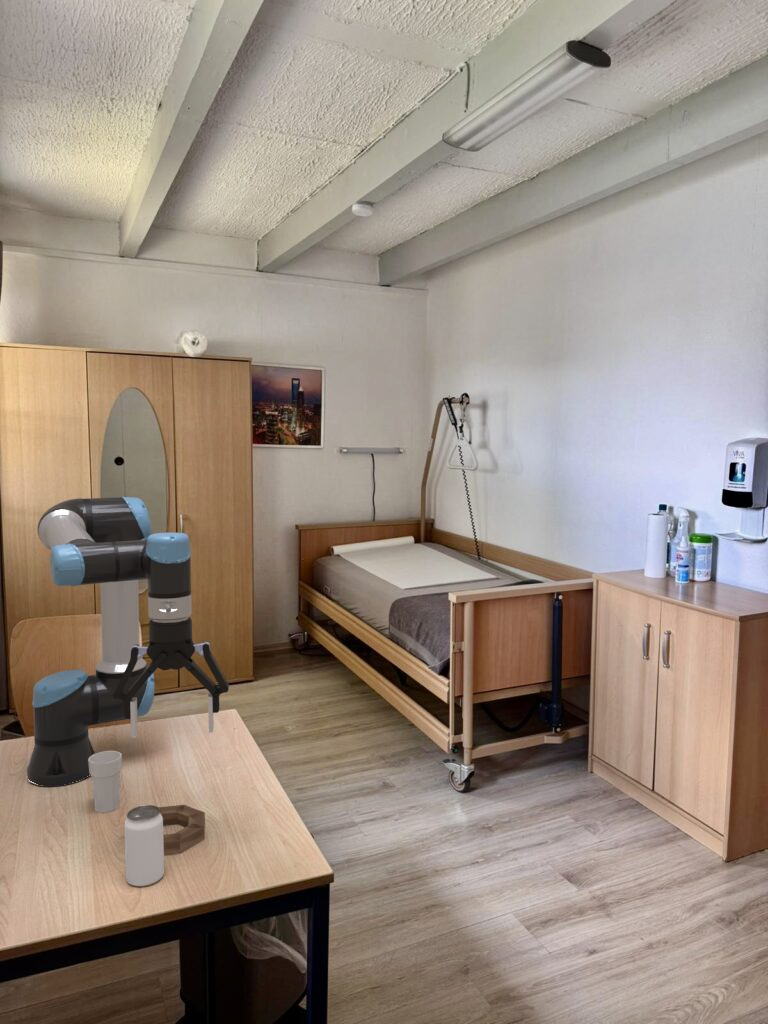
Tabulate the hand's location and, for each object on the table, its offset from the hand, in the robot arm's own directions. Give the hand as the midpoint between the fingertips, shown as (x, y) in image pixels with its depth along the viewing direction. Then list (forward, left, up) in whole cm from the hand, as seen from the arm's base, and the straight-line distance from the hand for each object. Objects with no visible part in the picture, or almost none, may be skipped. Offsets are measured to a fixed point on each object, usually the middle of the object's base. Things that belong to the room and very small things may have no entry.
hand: (173, 732), depth 135 cm
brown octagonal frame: (-8, +5, -24) cm, 26 cm away
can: (0, -7, -24) cm, 25 cm away
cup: (-28, +6, -24) cm, 37 cm away
